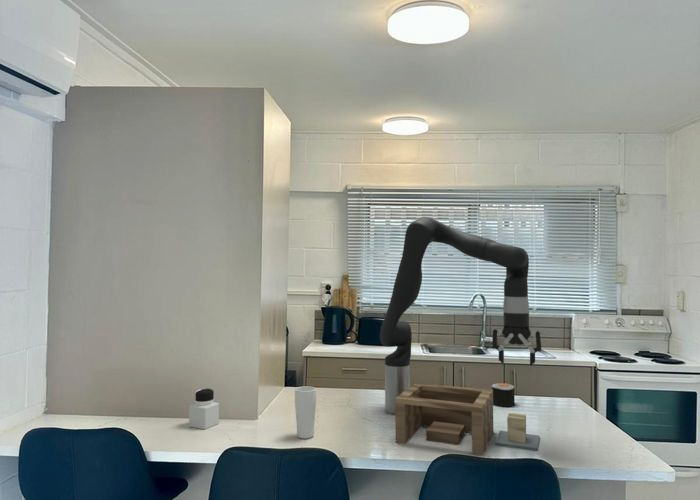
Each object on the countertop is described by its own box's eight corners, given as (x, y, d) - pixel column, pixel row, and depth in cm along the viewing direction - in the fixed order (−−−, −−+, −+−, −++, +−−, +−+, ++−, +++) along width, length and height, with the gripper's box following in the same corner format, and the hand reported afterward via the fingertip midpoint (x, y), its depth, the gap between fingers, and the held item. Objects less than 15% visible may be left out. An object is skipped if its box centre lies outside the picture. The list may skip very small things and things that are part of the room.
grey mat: (499, 432, 160) (499, 430, 160) (539, 438, 155) (539, 435, 155) (494, 445, 149) (494, 442, 149) (537, 451, 144) (537, 448, 144)
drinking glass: (294, 433, 160) (295, 386, 160) (316, 432, 161) (316, 385, 161) (294, 440, 153) (294, 391, 154) (316, 439, 154) (316, 391, 154)
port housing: (415, 422, 171) (415, 382, 172) (493, 432, 161) (492, 390, 161) (395, 442, 151) (395, 398, 152) (482, 455, 141) (482, 407, 141)
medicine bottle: (219, 423, 170) (219, 388, 170) (205, 429, 163) (205, 393, 164) (203, 421, 173) (203, 386, 173) (188, 427, 166) (188, 390, 167)
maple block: (509, 435, 155) (509, 412, 156) (526, 437, 153) (525, 414, 153) (507, 440, 151) (507, 417, 151) (524, 442, 149) (524, 419, 149)
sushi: (496, 400, 199) (496, 380, 199) (517, 404, 194) (517, 383, 194) (489, 405, 192) (488, 384, 193) (510, 408, 187) (510, 387, 188)
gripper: (541, 311, 154) (542, 363, 153) (494, 309, 160) (494, 360, 159) (540, 313, 147) (540, 368, 147) (490, 311, 153) (491, 364, 152)
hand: (516, 363), depth 153 cm, fingers open, 8 cm apart
